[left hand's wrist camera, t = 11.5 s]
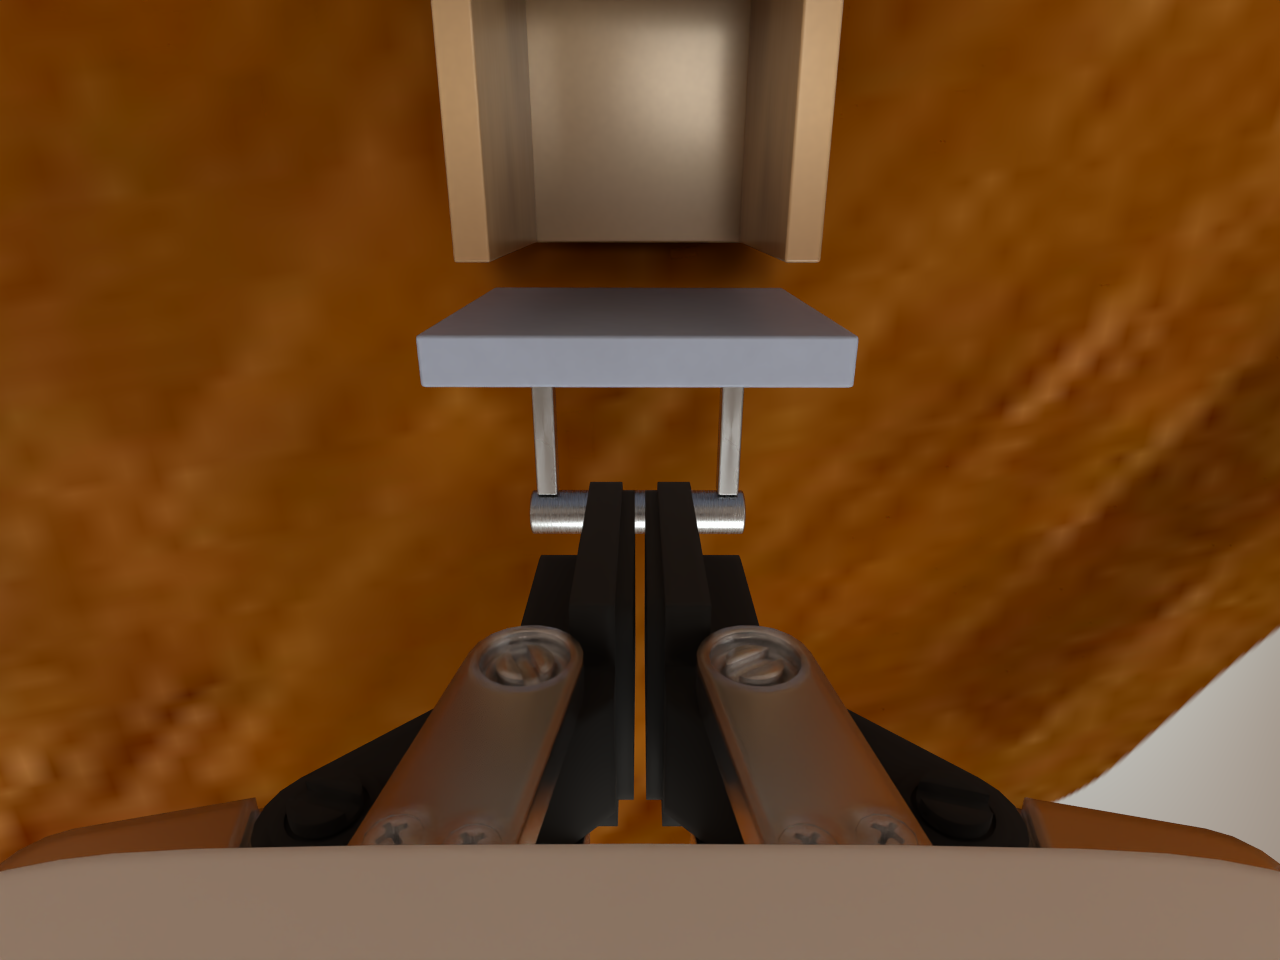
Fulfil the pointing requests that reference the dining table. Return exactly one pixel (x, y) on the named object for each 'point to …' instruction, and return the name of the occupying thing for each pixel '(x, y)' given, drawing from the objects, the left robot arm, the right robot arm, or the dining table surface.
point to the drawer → (637, 204)
